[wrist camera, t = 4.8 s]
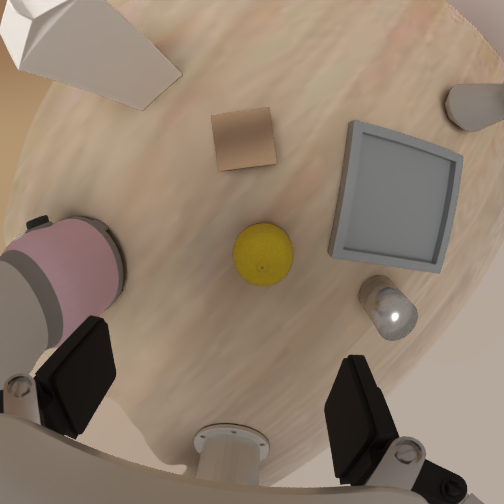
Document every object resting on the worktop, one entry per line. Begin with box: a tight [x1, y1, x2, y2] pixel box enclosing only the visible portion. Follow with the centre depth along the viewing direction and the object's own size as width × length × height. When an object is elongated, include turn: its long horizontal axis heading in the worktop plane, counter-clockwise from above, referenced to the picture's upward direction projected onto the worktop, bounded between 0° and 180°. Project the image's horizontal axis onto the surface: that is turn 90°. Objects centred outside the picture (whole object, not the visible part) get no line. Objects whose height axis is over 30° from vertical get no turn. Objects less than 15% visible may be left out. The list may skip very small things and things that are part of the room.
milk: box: [0, 0, 182, 111], centre depth 15 cm, size 6×6×22 cm
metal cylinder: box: [359, 275, 418, 341], centre depth 28 cm, size 4×4×7 cm
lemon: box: [233, 223, 293, 286], centre depth 27 cm, size 6×6×8 cm
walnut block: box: [211, 107, 277, 171], centre depth 25 cm, size 5×5×5 cm
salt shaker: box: [445, 84, 504, 132], centre depth 18 cm, size 6×6×13 cm
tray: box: [328, 120, 463, 274], centre depth 27 cm, size 14×14×2 cm
